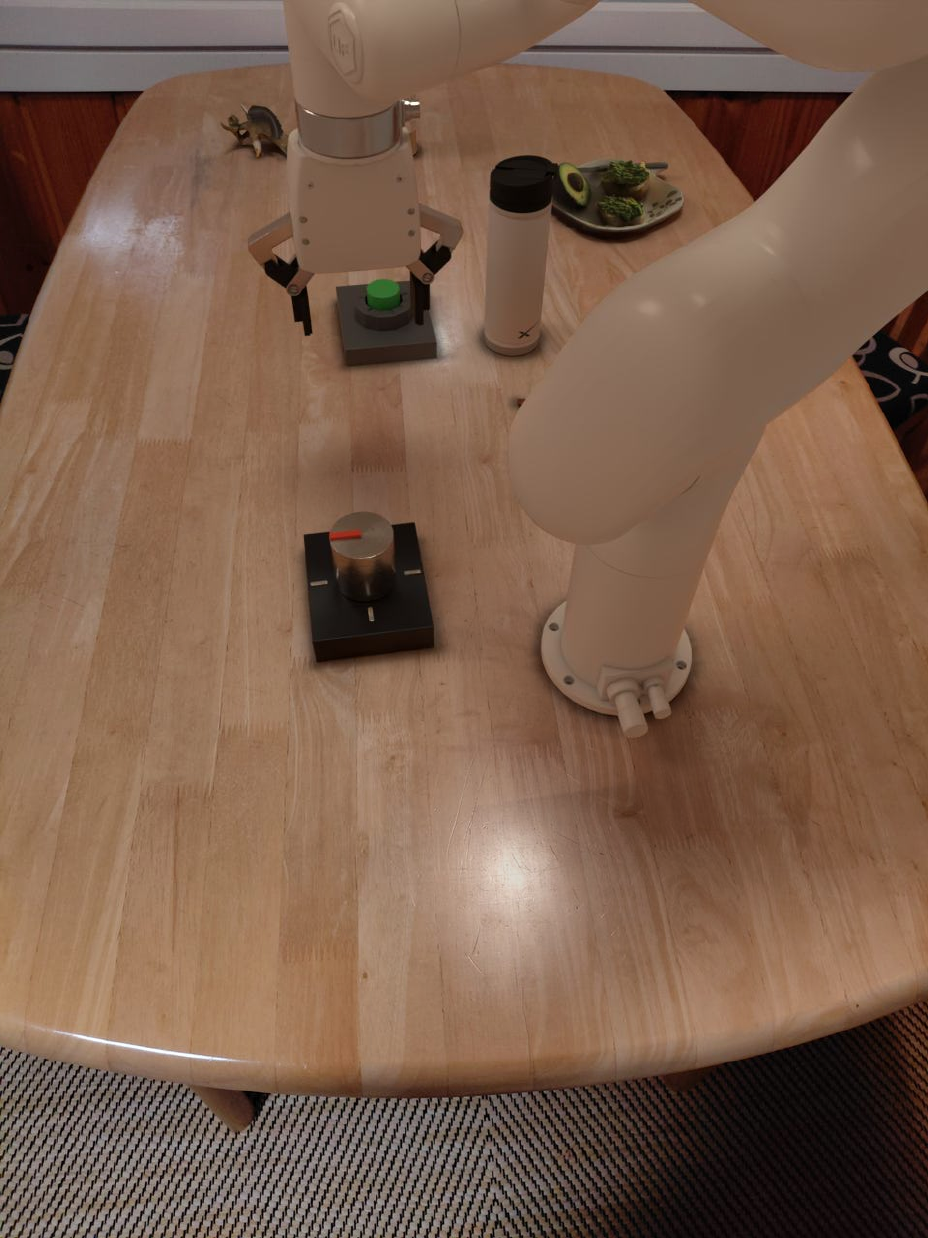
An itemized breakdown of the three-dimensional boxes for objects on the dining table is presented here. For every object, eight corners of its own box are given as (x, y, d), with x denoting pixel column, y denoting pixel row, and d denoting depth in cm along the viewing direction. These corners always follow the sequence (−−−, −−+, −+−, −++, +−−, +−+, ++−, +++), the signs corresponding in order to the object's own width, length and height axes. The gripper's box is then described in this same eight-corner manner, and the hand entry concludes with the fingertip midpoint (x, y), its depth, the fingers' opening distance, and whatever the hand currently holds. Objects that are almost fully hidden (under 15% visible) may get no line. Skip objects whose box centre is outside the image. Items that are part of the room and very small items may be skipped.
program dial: (392, 552, 81) (389, 505, 77) (400, 597, 78) (397, 552, 74) (333, 559, 81) (326, 512, 76) (338, 605, 78) (331, 559, 73)
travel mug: (537, 360, 103) (554, 183, 87) (479, 352, 104) (484, 175, 88) (545, 327, 107) (563, 152, 91) (489, 319, 107) (496, 144, 92)
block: (436, 358, 103) (436, 327, 100) (346, 366, 102) (343, 335, 99) (421, 295, 110) (421, 265, 107) (337, 302, 109) (334, 272, 106)
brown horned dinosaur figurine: (222, 155, 128) (283, 150, 125) (216, 97, 125) (277, 90, 123) (248, 163, 135) (305, 158, 132) (242, 108, 132) (300, 101, 130)
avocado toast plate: (624, 152, 132) (629, 118, 128) (715, 206, 123) (723, 172, 120) (517, 192, 125) (519, 157, 121) (605, 253, 116) (610, 217, 113)
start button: (402, 310, 102) (401, 296, 101) (369, 312, 102) (368, 298, 101) (398, 291, 104) (397, 277, 103) (366, 293, 104) (365, 279, 103)
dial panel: (434, 647, 79) (434, 625, 77) (316, 662, 78) (312, 640, 75) (415, 543, 86) (414, 520, 84) (307, 556, 85) (303, 532, 83)
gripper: (456, 89, 71) (452, 287, 85) (225, 102, 69) (259, 304, 82) (475, 138, 67) (467, 338, 80) (230, 154, 64) (265, 357, 78)
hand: (362, 320), depth 81 cm, fingers open, 9 cm apart
